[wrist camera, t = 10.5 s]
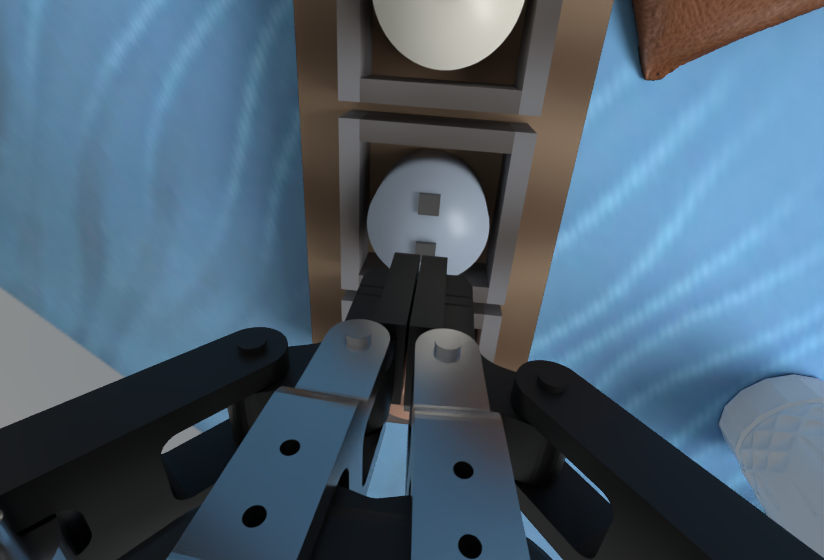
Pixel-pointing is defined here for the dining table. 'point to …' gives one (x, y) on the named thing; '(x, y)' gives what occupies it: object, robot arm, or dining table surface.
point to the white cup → (782, 450)
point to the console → (444, 149)
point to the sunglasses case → (703, 27)
